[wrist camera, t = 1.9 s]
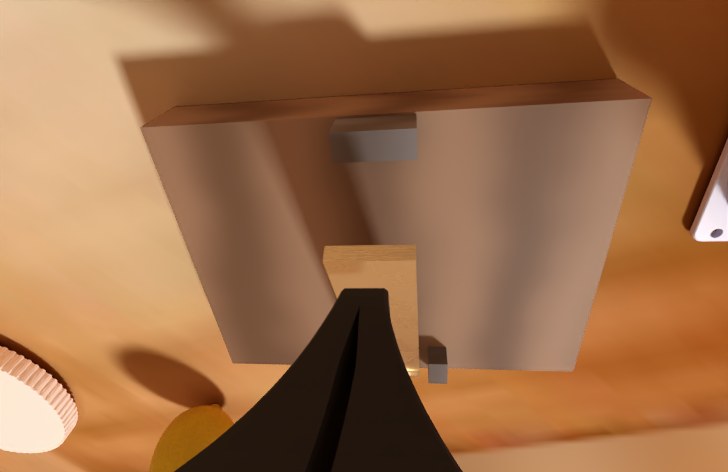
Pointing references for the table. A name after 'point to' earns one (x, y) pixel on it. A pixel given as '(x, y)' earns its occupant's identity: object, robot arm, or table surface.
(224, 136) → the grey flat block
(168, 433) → the lemon
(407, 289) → the latch bar
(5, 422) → the plastic lid
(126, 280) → the table surface
